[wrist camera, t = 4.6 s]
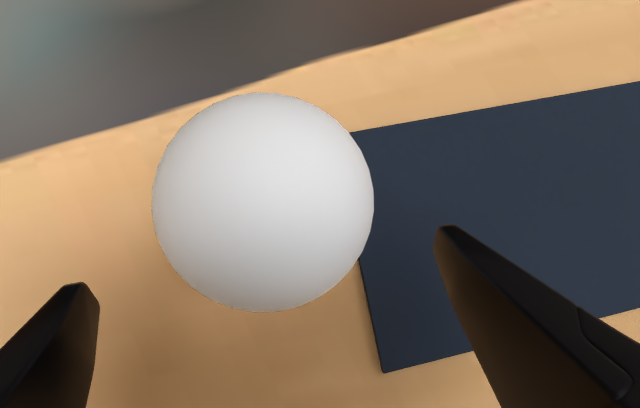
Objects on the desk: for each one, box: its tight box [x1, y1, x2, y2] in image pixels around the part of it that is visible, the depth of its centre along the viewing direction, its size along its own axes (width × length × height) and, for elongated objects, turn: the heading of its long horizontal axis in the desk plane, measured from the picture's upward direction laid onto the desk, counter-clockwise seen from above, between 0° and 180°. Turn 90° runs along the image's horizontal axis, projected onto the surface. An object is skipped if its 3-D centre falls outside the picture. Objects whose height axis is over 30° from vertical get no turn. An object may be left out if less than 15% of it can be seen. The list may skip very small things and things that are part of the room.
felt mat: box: [349, 81, 640, 373], centre depth 20 cm, size 20×12×1 cm, turn 102°
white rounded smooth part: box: [152, 93, 374, 312], centre depth 13 cm, size 6×6×11 cm
